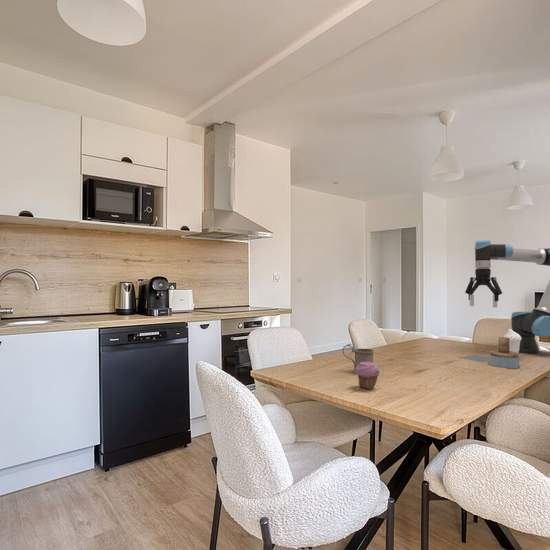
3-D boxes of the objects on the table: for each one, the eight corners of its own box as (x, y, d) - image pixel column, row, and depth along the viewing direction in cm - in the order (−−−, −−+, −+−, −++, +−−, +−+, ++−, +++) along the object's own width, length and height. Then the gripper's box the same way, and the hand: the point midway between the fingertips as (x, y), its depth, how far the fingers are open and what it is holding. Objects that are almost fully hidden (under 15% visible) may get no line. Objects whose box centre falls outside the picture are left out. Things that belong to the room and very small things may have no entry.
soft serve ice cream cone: (516, 357, 207) (516, 327, 208) (525, 361, 199) (524, 329, 199) (500, 357, 208) (499, 327, 208) (507, 360, 200) (507, 329, 200)
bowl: (499, 362, 196) (499, 352, 196) (525, 367, 185) (524, 356, 185) (483, 364, 190) (483, 354, 190) (509, 369, 179) (509, 358, 179)
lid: (499, 352, 195) (499, 335, 195) (524, 356, 185) (524, 338, 185) (484, 354, 190) (484, 337, 190) (509, 358, 179) (508, 340, 179)
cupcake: (351, 387, 148) (351, 361, 148) (363, 383, 154) (363, 358, 154) (371, 392, 141) (371, 365, 141) (384, 388, 147) (384, 361, 148)
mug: (375, 370, 178) (375, 343, 178) (375, 375, 168) (375, 347, 168) (343, 368, 182) (343, 342, 182) (341, 372, 172) (341, 345, 172)
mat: (474, 355, 213) (474, 355, 213) (499, 360, 200) (499, 359, 200) (457, 358, 206) (457, 357, 206) (482, 363, 194) (482, 362, 194)
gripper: (458, 268, 225) (458, 305, 224) (500, 267, 203) (501, 308, 202) (466, 269, 228) (467, 305, 228) (509, 267, 206) (509, 307, 206)
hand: (483, 306), depth 215 cm, fingers open, 13 cm apart
